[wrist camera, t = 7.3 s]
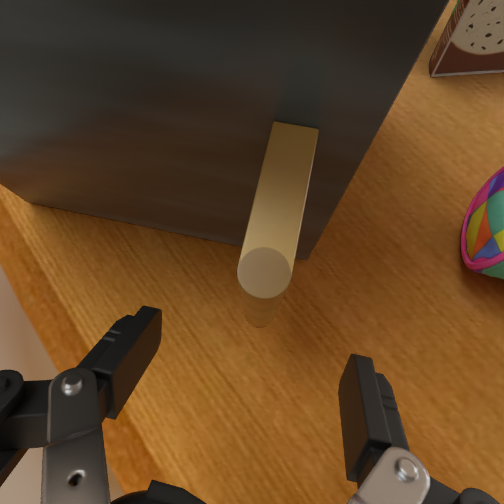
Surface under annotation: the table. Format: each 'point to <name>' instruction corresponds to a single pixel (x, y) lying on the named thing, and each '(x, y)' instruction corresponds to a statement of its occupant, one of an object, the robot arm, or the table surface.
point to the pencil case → (485, 229)
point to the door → (203, 115)
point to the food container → (471, 40)
